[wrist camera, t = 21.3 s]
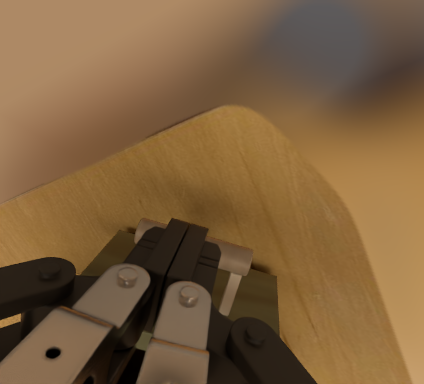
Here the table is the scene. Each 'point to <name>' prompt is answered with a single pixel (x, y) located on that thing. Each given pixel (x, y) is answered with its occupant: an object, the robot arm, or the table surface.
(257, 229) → the table surface
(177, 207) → the table surface
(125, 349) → the robot arm
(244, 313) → the drawer
